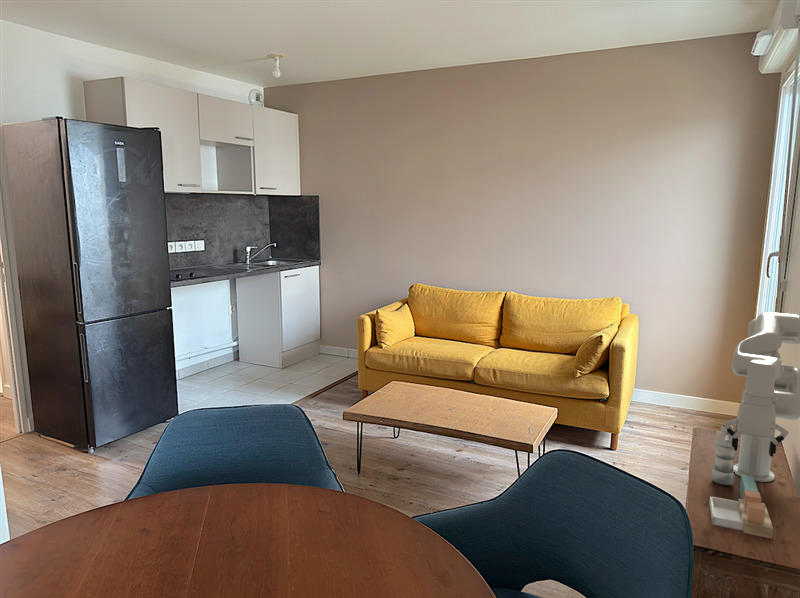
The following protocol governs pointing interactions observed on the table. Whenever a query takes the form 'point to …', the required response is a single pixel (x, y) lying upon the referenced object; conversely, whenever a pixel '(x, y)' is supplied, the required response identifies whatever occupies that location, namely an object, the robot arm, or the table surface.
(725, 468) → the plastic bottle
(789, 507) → the table surface
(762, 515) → the peach cube
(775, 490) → the table surface
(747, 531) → the beige gold flat block
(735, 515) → the tray
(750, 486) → the bar
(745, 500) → the tan cube
